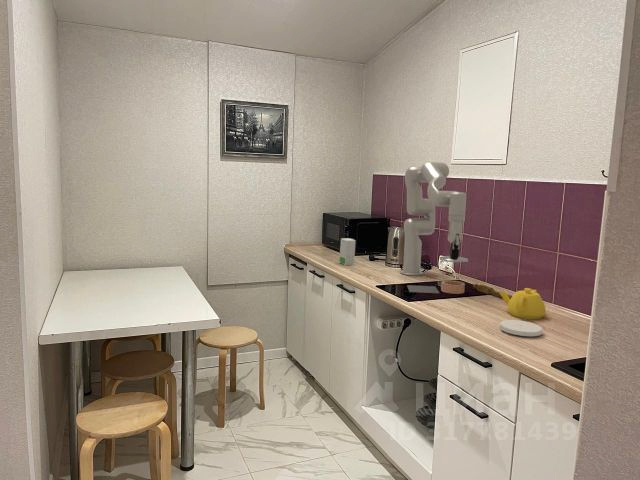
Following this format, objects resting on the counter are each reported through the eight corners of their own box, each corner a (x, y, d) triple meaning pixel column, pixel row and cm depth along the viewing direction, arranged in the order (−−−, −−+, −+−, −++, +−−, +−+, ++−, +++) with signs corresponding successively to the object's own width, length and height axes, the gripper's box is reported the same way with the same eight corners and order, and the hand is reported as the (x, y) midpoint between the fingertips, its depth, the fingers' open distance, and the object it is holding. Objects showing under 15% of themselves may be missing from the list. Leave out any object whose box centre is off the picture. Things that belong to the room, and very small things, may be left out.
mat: (406, 286, 239) (406, 285, 239) (435, 287, 238) (435, 286, 238) (409, 293, 225) (409, 291, 225) (439, 294, 224) (439, 293, 224)
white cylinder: (339, 263, 297) (340, 238, 295) (348, 262, 300) (349, 238, 298) (345, 265, 289) (346, 240, 287) (355, 265, 292) (356, 239, 290)
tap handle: (516, 298, 210) (472, 283, 238) (515, 305, 211) (471, 289, 238) (521, 297, 211) (477, 282, 239) (521, 304, 212) (476, 288, 239)
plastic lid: (542, 341, 163) (543, 334, 163) (499, 335, 168) (499, 328, 168) (540, 329, 176) (541, 323, 176) (499, 324, 181) (500, 318, 181)
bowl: (439, 289, 235) (440, 280, 234) (461, 290, 234) (461, 281, 234) (443, 294, 225) (444, 284, 224) (465, 295, 224) (466, 285, 223)
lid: (437, 257, 234) (438, 246, 234) (464, 258, 233) (465, 247, 233) (442, 261, 222) (443, 250, 221) (470, 263, 221) (471, 251, 220)
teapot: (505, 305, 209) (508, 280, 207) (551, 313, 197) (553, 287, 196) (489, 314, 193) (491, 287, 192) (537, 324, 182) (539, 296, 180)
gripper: (445, 216, 233) (443, 253, 236) (451, 219, 217) (449, 259, 219) (461, 217, 233) (458, 254, 235) (468, 220, 216) (465, 260, 219)
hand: (454, 256), depth 227 cm, fingers closed on lid, 3 cm apart
